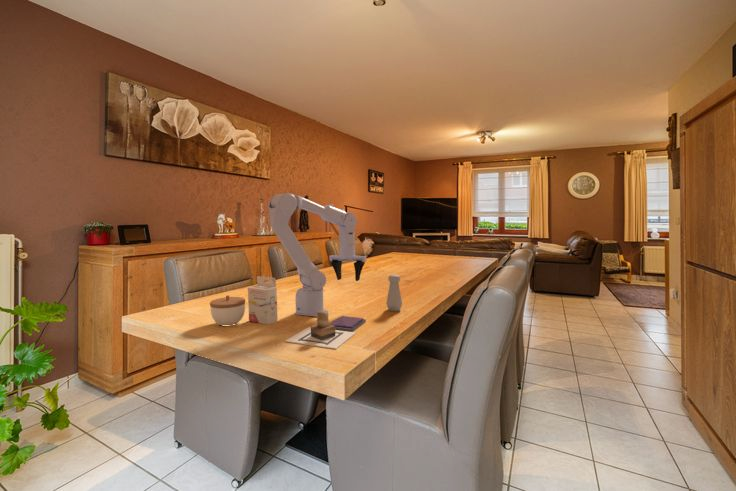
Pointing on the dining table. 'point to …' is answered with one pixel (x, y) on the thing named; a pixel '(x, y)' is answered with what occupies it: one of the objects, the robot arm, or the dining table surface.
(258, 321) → the ink cartridge box
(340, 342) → the marked sheet
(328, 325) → the stamp
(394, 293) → the salt shaker
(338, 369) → the dining table surface
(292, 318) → the dining table surface
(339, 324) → the ink pad
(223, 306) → the lidded jar
